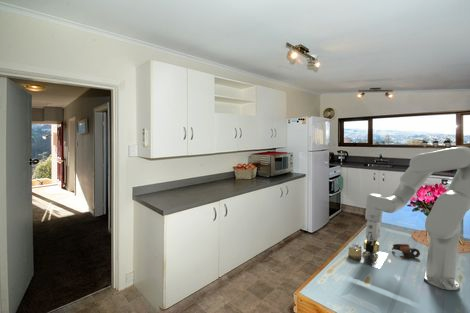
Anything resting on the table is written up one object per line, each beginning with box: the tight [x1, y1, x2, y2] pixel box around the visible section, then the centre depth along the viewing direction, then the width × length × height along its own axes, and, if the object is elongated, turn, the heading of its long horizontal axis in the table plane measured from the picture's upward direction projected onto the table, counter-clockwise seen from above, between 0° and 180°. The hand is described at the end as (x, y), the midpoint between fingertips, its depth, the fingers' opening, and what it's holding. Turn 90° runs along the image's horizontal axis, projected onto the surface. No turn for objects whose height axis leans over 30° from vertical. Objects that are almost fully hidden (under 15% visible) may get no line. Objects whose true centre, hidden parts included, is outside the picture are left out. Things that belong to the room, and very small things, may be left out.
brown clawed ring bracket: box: [391, 243, 421, 260], centre depth 125 cm, size 12×10×8 cm
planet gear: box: [363, 239, 380, 253], centre depth 127 cm, size 7×7×4 cm
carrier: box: [344, 243, 389, 270], centre depth 124 cm, size 20×16×6 cm
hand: (371, 248), depth 127 cm, fingers closed on planet gear, 7 cm apart
